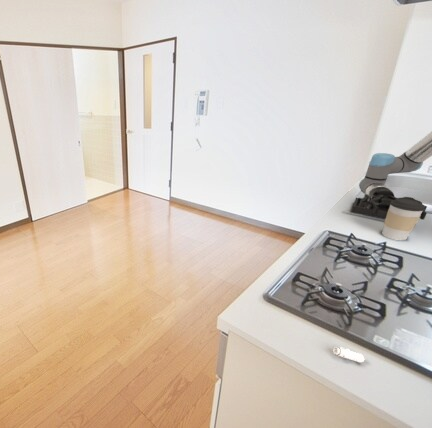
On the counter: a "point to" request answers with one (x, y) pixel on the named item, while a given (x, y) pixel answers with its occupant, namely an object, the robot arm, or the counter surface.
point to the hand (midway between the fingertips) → (399, 213)
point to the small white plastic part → (348, 354)
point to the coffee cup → (402, 217)
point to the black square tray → (360, 209)
